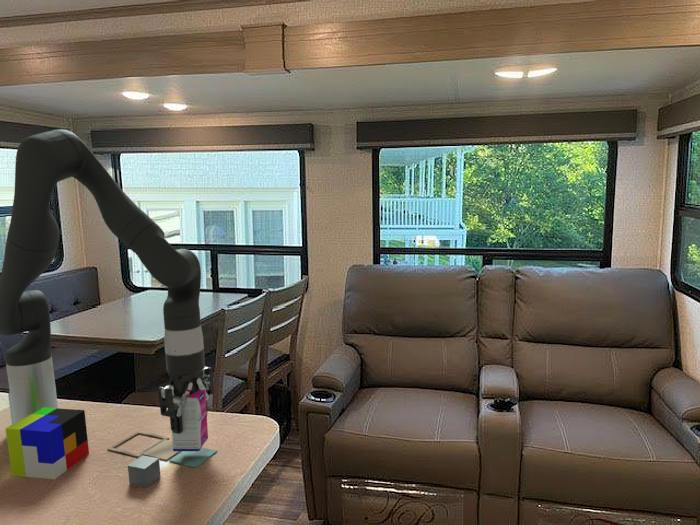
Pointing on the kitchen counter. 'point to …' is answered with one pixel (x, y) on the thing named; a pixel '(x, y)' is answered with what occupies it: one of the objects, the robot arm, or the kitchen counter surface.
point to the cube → (144, 471)
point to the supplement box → (192, 423)
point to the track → (168, 451)
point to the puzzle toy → (47, 442)
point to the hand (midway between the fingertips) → (190, 424)
